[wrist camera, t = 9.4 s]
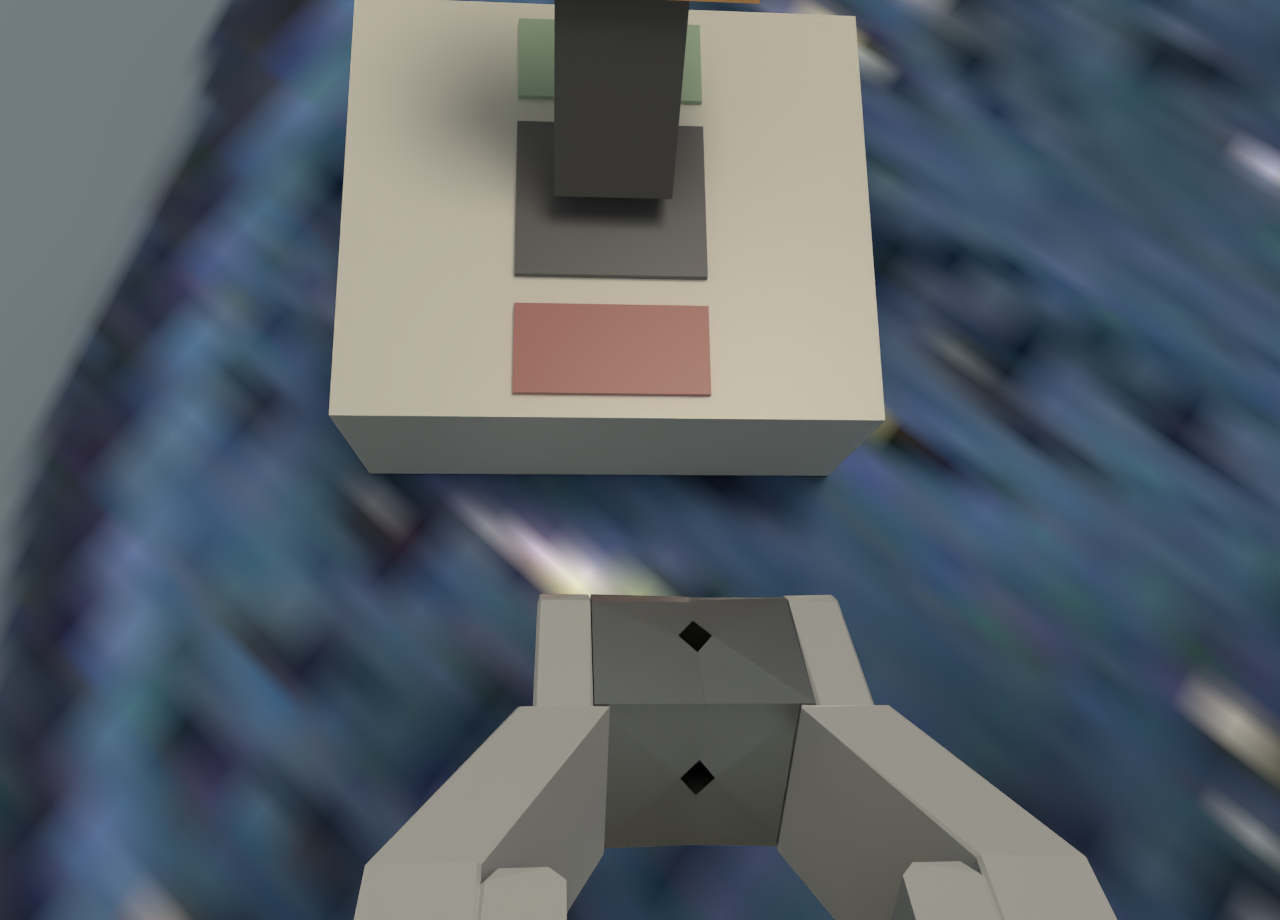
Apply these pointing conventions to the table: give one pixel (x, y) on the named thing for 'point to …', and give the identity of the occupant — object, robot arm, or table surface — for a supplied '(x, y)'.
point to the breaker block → (602, 258)
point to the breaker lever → (618, 96)
